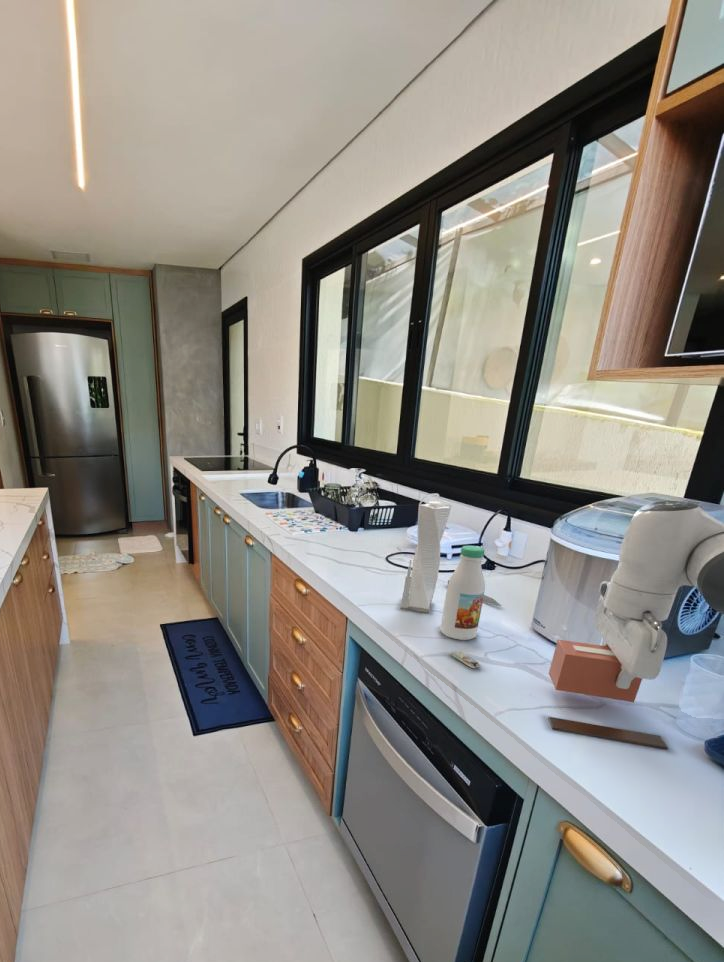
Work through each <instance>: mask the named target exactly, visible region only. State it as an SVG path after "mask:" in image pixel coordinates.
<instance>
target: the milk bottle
mask: <svg viewBox="0 0 724 962" xmlns="http://www.w3.org/2000/svg"><path fill="white" fill-rule="evenodd" d="M484 556H485V549H484V548H483V547H481V546H478V545H462V547H461V548H460V555H459V557H460V561H459V563H458V565H457V566H456V568H455V569H454V571H453V572H452V573H451V576H450V578H449V579H448V580H449V583H448V582H447V588H446V592H445V599H444V604H443V610H442V616H441V622H440V632H441V634H443V635H444V636H446V637H449V638H451V639H455V640H461V641H468V640H472V639H474V638H475V637H476V636H477V633H478V629H479V623H480V619H481V613H482V608H483V603H484V601H483V597H484V595H485V590H486V580H485V576H484V573H483V568H482V561H483V560H484Z"/></svg>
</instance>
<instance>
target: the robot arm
mask: <svg viewBox="0 0 724 962" xmlns="http://www.w3.org/2000/svg"><path fill="white" fill-rule="evenodd" d="M682 586H688V587H694V588H695V589H696V590H697V591H698V592H699V593H700V595H701V597H702V598H703V599H704V602H706V604H707V605H708V606H709V607H710V608H712V610H714V611H715V612H717V613H719V614H721V615H724V522H722V521H720V520H719V519H716V517H713V516H712V515H710V514H709V513H707V512H706V510H704V509H703V508H702V507H701V506H700V505H699V504H697V503H694V502H692V501H685V500H683V501H681V500H663V501H654V502H651V503H647V504H645V505H643V506H641V507H640V508H639V509H637V510H636V512H635V513H634V515H633V516H632V518H631V520H630V521H629V523H628V526H627V529H626V532H625V533H624V536H623V539H622V541H621V545H620V548H619V551H618V565H617V567H616V570H615V571H614V572H613V573H612V575H611V578H610V581H602V582H600V585H599V589H598V592H599V594H600V596H599V599H598V603H597V605H596V606H597V607H596V611H595V616H594V628H595V630H596V631H597V632H598V634H599V635H600V637H601V638H602V639H603V641H602V646H607V647H609V648H610V649H611V650H612V652H613V653H614V655H615V656H616V657H617V659H618V660H619V662H620V663H621V664H622V666H621V669H622V671H621V672H620V674H619V675H618V674H616V678H615V681H614V682H615V684H616V686H617V687H618V688H622V689H628V688H629V686H630V683H631V681H632V680H633V679H634V678H635V677H636V678H642V680H655V679H656V678H657V677H658V676H659V675H660V672H661V670H662V666H663V663H664V659H665V654H666V652H667V646H668V636H667V633H666V632H665V631H664V630H663V629H662V627H663V623H662V622H665V621H667V620H668V618H669V615H670V614H671V610H672V607H673V606H674V602H675V599H676V596H677V593H678V591H679V588H681V587H682Z"/></svg>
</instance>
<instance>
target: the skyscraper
mask: <svg viewBox="0 0 724 962" xmlns="http://www.w3.org/2000/svg"><path fill="white" fill-rule="evenodd" d="M432 496H436V498H435V500H431V501H428V503H423V502H424V500H425V499H427V498H429V497H432ZM439 497H440V494H439V493H430V494H426V495H425V496H424V497H423V498H422V499H421V500H420V501H419V503H418V511H417V543H416V546H415V547H416V548H415V551H414V556H413V560H412V559H410V560H409V565H408V567H407V573H406V576H405V578H404V579H405V580H404V585H403V592H402V597H401V605H400V610H403V611H410V612H415V613H421V614H422V613H423V614H430V611H431V606H432V602H433V598H434V594H435V590H436V586H437V582H438V577H439V572H440V571H439V570H440V566H441V565H440V564H441V541H442V539H443V536H444V532H445V529H446V526H447V523H448V520H449V516H450V514H451V509H452V505H451V504H447V503H446V504H445V503H443V504H442V502H441V501H438V500H439Z"/></svg>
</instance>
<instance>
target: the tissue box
mask: <svg viewBox="0 0 724 962" xmlns="http://www.w3.org/2000/svg"><path fill="white" fill-rule="evenodd" d="M621 666H622V664H621V663H620V662H619V660H618V659H617V657H616V656H615V655H614V653H613V652H612V650H611V649H610V648H609V647H607V646H603V645H600V644H594V643H593V644H592V643H585V642H578V641H572V640H571V641H570V640H563V639H557V640H556V645H555V648H554V652H553V657H552V660H551V664H550V667H549V671H548V675H549V677H550V680H551V682H552V685H553V687H554V689H555V690H556V691H560V692H561V691H562V692H566V693H573V694H580V695H584V696H585V695H586V696H592V697H598V698H603V699H609V700H610V699H611V700H616V701H623V702H627V703H635V701H636V698H637V696H638V692H639V690H640V685H641V683H642V681H643V679H642V678H636V677H635V678H634V679H633V680H632V681H631V683H630V686H629V688H628V689H622V688H618V687H617V686H616V684H615V682H614V681H615V678H616V674H618V675H619V674H620V672H621V671H622V669H621Z"/></svg>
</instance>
